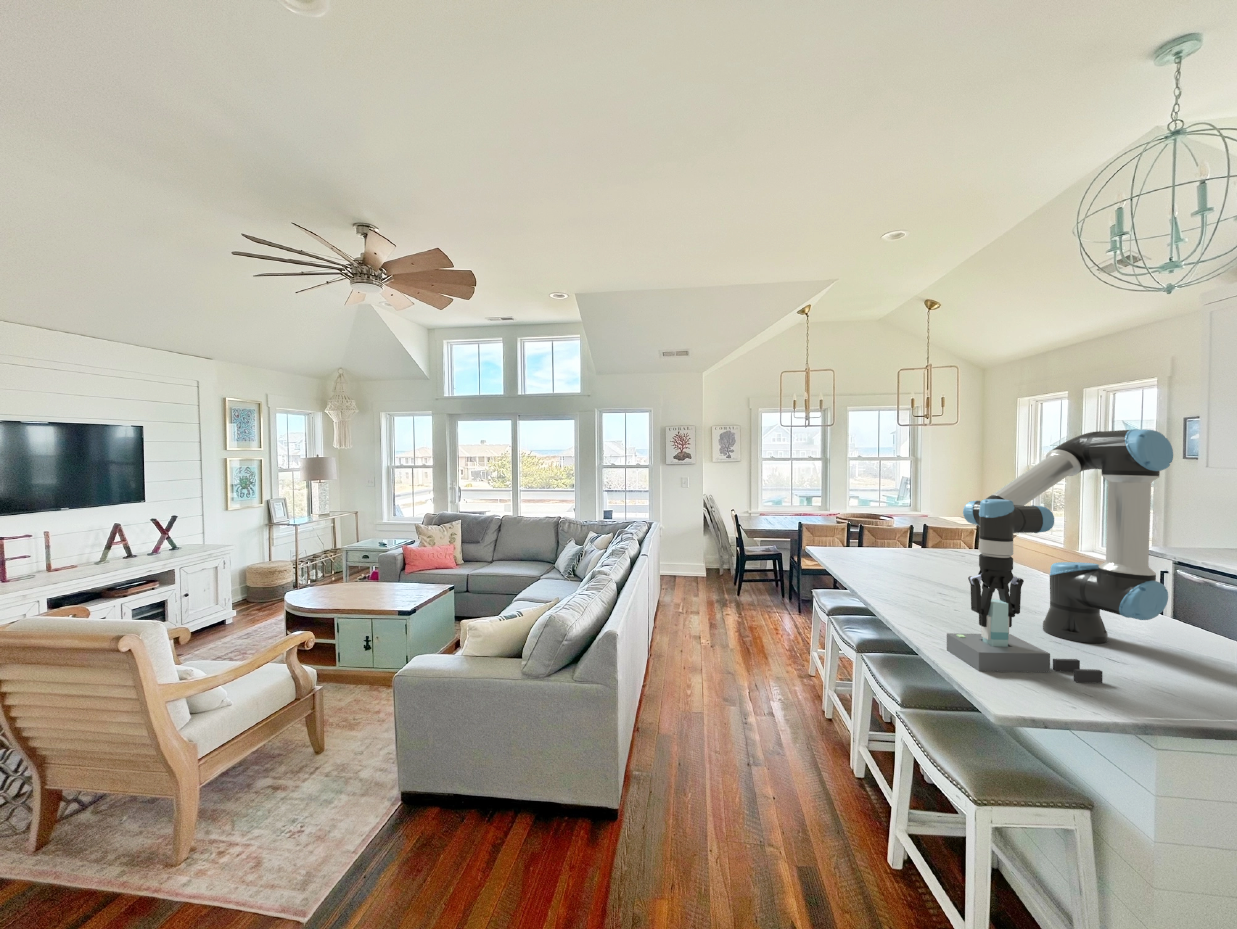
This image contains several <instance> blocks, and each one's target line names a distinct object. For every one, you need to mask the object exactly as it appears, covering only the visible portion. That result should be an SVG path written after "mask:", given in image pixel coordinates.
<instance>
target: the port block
mask: <svg viewBox="0 0 1237 929" xmlns="http://www.w3.org/2000/svg"><path fill="white" fill-rule="evenodd" d="M946 651H947V652H949V653H950V654H952V655H953V656H955V657H956V658H958V659H960V660H961V661H963V662H964V663H966V664H967V665H969V666H971V668H973V669H975V670H977V671H978V672H1002V673H1003V672H1004V673H1005V672H1008V673H1009V672H1011V673H1051V653H1050V652H1048V651H1046V650H1044V649H1042V648H1040V647H1037V646H1035V645H1034V644H1032V643H1030V642H1027V641H1025V640H1023V639H1021V638H1020V637H1017V636H1015V635H1014V634H1011V633H1009V640H1008V647H992V646H991V645H989V644H987V643H985V642H983V637H982V636H981V633H959V632H958V633H955V632H954V633H952V632H950V633H949V632H947V633H946Z"/></svg>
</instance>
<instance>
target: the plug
mask: <svg viewBox="0 0 1237 929" xmlns="http://www.w3.org/2000/svg"><path fill="white" fill-rule="evenodd" d="M988 615H989V616H991V640H988V639H986V638H984V637H983V642H985V643H987V644H989V645H991V646H992V647H1008V603H1006V602H1003V601H1001V600H1000V599H998V598H997V599H996V598H994V599H993V598H992V599H991V604H990V608H989V612H988Z"/></svg>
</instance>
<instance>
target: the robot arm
mask: <svg viewBox="0 0 1237 929" xmlns="http://www.w3.org/2000/svg"><path fill="white" fill-rule="evenodd" d="M1173 460H1174V448H1173V446H1172V444H1171V441H1169V439H1168V438H1167V437H1166V435H1164V434H1163V433H1161V432H1160V431H1157V430H1154V429H1140V428H1139V429H1138V428H1136V429H1123V430H1105V431H1102V430H1097V431H1090V432H1087V433H1083V434H1080V435H1077V436H1075V437H1072V438H1071V439H1068V440H1067V441H1065V442H1063V443H1061V444H1059V445H1057V446H1056V447H1054V448H1053V449H1051V450H1050V451H1049V452H1047V454H1046V455H1045V458H1044V459H1043V460H1041V461H1040V462H1038V463H1037V464H1035V465H1034V466H1032V467H1031V468H1029V469H1027V470H1026V471H1025V472H1024V473H1022V474H1020V475H1019V476H1017V477H1016V478H1014V479H1013V480H1012V481H1010V482H1009V483H1007V484H1005V485H1004V486H1003V487H1001V488H999V489H998V490H997V491H995V492H993V493H991V495H989V496H988V497H986V498H985V499H982V500H971V501H969V502H967V503H966V504H965V505H964V506H963V510H962V514H963V518H964V519H965V521H966V522H967V523H969V524H972V525H976V526H979V527H978V529H979V535H978V536H979V540H978V542H979V547H978V551H979V553H980V554H979V555H978V566H979V571H978V574H976V575H974V576H972V575H969V576H968V582H969V583H970V584H969V585H970V609H971V611H973V612H974V613H977V614H978V624H979V626H981V633H980V634H981V636H982V637H984V638H986V639H988V640H991V616H989V615H988V612H989V608H990V604H991V599H993V594H994V593H995V592H996V591H997V592H998V593H997V594H998V596H999V600H1001V601H1003V602H1006V603H1008V640H1009V634H1010V628H1012V626H1013V623H1012V622H1013V618H1015V617H1016V615H1020V613H1021V600H1022V587H1023V584H1024V581H1025V580H1024V579H1023V578H1020V577H1017V576H1014V574H1013V569H1014V558H1013V557H1012V556H1013V555H1014V534H1029V533H1030V534H1031V533H1034V534H1038V533H1045V532H1048V531H1050V530H1051V529H1052V528H1053V527H1054V525H1055V515H1054V514H1053V512H1052V511H1051V510H1050V509H1049V508H1047V507H1045V506H1043V505H1033V504H1032V505H1027V504H1029V503H1030V502H1031V501H1033V500H1034V499H1036V498H1037V497H1039V496H1040V495H1042V494H1043V493H1045V492H1046V491H1048V490H1049V489H1051V488H1052V487H1053V486H1055V485H1056V484H1058V483H1060V482H1061V481H1063V480H1064V479H1065V478H1067V477H1073V476H1077V475H1078V474H1079V473H1081V472H1083V471H1089V470H1090V471H1091V470H1101V477H1103V478H1104V479H1105V480H1106V481H1107V483H1108V484H1107V485H1108V486H1107V488H1108V490H1107V516H1106V517H1107V518H1106V539H1105V540H1106V546H1105V561H1104V562H1103V563H1101V564H1098V563H1092V562H1080V561H1077V562H1076V561H1075V562H1074V561H1073V562H1072V561H1071V562H1070V561H1069V562H1068V561H1064V562H1063V561H1061V562H1054V563H1052V564H1051V566H1050V573H1049V574H1048V575H1049V608H1048V610H1047V613H1046V615H1045V618H1044V620H1043V621H1042V630H1043V631H1044V632H1045V633H1047V634H1049V635H1051V636H1054V637H1058V638H1060V639H1063V640H1067V641H1068V640H1069V641H1074V642H1080V643H1086V644H1088V643H1089V644H1104V643H1107V642H1108V641H1109V639H1108V638H1109V634H1108V631H1107V629H1106V627H1105V624H1104V622H1103V619H1102V616H1101V610H1102V611H1104V612H1109V613H1111V614H1115V615H1119V616H1121V617H1124V618H1126V619H1127V618H1128V619H1129V618H1130V619H1135V620H1139V621H1150V620H1152V619H1154V618H1156V617H1158V616H1159V615H1160V614H1161V613H1163V611H1164V610H1165V608H1166V606H1167V605H1168V601H1169V592H1168V589H1167V588H1166V586H1165V585H1164V584H1163V583H1162V582H1159V581H1158V580H1157V573H1156V572H1155V571H1154V570H1153V569H1151V568H1150V567H1149V566H1150V565H1149V556H1150V553H1149V552H1150V529H1151V528H1150V527H1151V525H1150V523H1151V498H1152V495H1151V494H1152V483H1153V482H1155V480H1157V479H1159V478H1160V472H1161V471H1164V470H1166V469H1168V468H1169V467H1170V466H1171V464H1172V463H1173ZM981 584H982V585H981ZM1009 584H1010V585H1009Z"/></svg>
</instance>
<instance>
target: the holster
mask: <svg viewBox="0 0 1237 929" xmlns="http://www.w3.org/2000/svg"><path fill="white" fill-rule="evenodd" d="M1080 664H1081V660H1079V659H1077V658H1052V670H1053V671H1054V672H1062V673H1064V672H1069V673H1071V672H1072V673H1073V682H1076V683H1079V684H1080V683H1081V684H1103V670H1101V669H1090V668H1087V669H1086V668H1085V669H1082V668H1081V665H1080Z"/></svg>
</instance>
